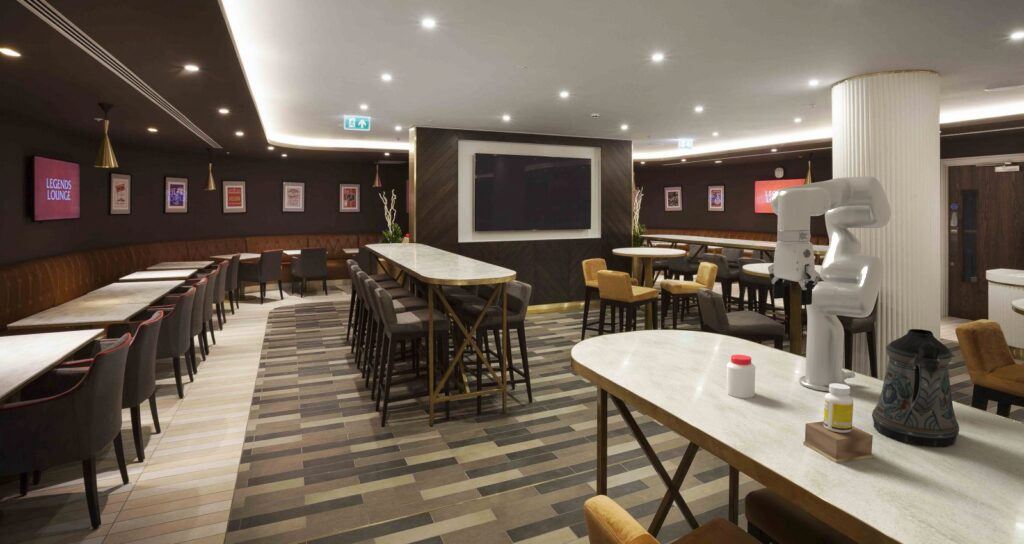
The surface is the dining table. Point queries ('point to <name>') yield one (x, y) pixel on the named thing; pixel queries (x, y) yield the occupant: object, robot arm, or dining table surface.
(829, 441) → the walnut riser
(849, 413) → the supplement bottle
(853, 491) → the dining table surface
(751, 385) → the pill bottle
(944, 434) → the patterned ceramic jug
